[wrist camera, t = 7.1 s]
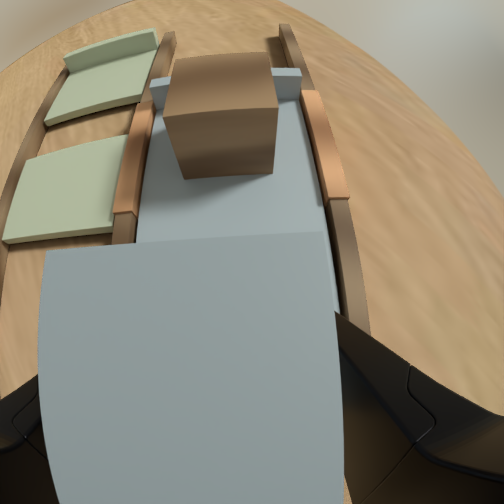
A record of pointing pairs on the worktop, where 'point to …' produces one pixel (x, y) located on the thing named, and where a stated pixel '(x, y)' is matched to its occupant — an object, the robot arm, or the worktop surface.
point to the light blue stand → (200, 339)
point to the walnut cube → (222, 115)
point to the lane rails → (136, 158)
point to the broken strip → (82, 145)
